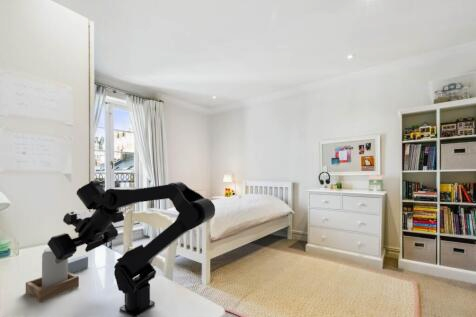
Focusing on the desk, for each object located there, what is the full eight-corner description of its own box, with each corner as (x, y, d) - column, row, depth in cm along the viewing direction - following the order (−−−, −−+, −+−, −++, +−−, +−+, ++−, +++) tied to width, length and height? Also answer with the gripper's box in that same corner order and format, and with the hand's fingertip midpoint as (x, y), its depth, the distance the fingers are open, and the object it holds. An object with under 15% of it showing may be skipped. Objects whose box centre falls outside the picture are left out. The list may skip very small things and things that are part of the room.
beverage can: (41, 294, 70) (41, 253, 70) (42, 285, 75) (42, 247, 75) (67, 287, 73) (68, 248, 74) (67, 279, 78) (67, 243, 79)
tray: (78, 286, 75) (78, 276, 75) (40, 302, 67) (40, 291, 67) (63, 278, 80) (63, 269, 80) (25, 292, 72) (25, 282, 72)
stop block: (88, 267, 89) (88, 256, 89) (63, 276, 82) (63, 264, 82) (83, 265, 91) (83, 255, 91) (59, 274, 84) (59, 262, 84)
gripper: (110, 196, 79) (85, 228, 82) (52, 206, 61) (23, 246, 64) (130, 221, 77) (103, 252, 79) (75, 239, 59) (43, 279, 62)
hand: (72, 256), depth 71 cm, fingers open, 9 cm apart
